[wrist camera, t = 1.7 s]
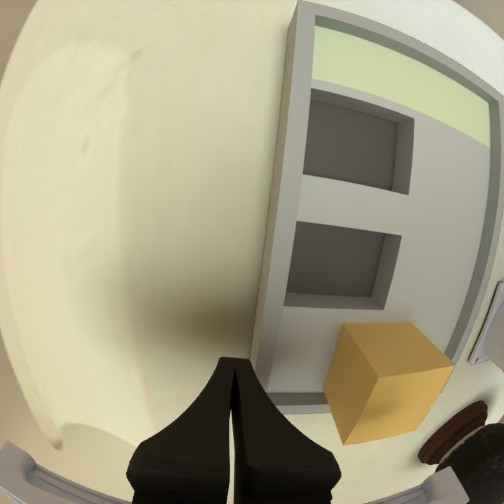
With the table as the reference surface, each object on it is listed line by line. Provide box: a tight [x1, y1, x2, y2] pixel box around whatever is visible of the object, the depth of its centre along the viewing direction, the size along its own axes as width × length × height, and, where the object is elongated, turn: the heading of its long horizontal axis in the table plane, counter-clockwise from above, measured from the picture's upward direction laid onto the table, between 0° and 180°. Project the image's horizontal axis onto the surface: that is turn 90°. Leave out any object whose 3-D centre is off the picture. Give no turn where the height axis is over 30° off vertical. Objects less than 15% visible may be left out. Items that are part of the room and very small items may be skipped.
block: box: [322, 322, 455, 446], centre depth 12 cm, size 4×4×4 cm
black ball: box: [418, 401, 504, 504], centre depth 14 cm, size 13×13×15 cm
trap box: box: [249, 0, 504, 415], centre depth 12 cm, size 14×21×3 cm, turn 174°
